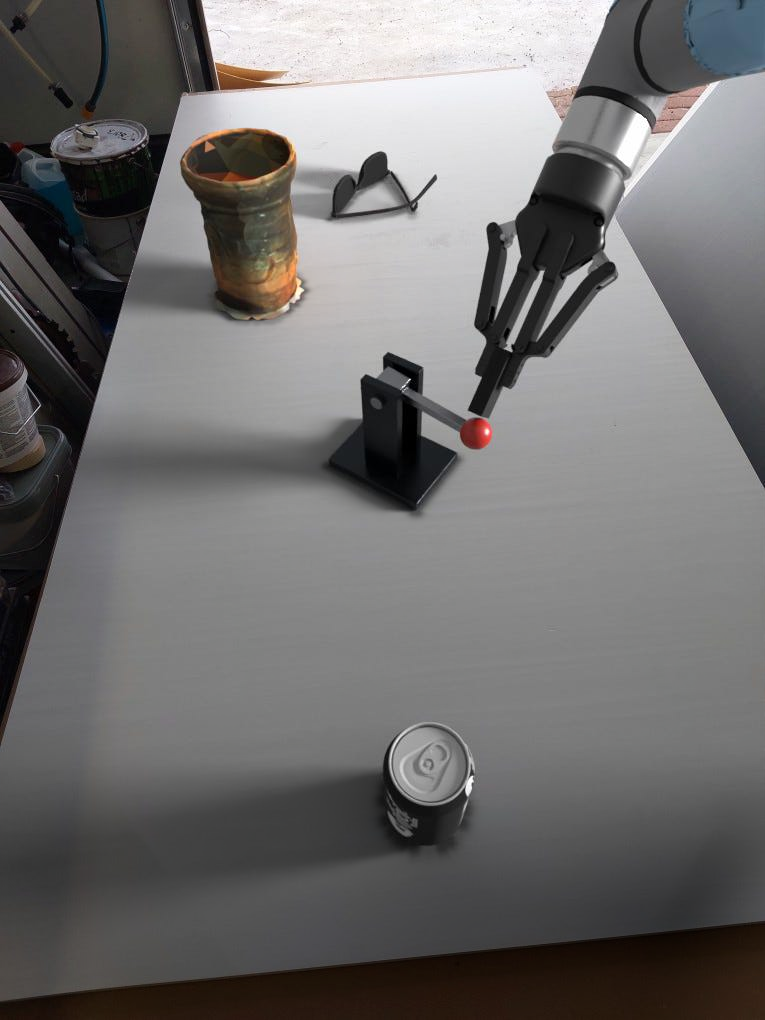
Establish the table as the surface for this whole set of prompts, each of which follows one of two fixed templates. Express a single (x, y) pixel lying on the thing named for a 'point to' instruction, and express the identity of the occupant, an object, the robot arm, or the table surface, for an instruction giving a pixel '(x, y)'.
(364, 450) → the bracket
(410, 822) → the beverage can
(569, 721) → the table surface
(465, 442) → the lever
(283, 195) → the vessel
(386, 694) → the table surface
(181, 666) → the table surface
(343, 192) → the sunglasses
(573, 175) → the robot arm
